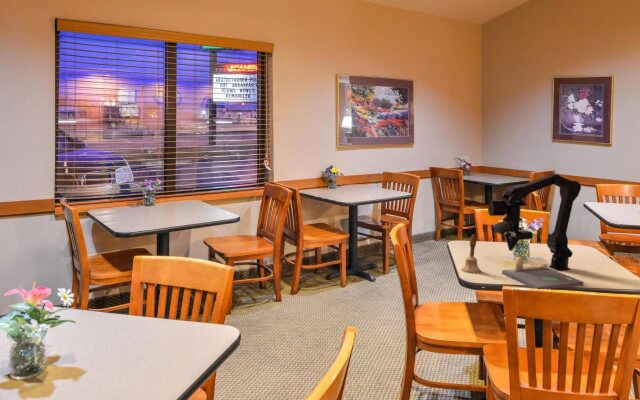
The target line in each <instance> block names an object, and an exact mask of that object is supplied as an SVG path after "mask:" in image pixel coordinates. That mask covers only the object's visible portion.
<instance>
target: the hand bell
mask: <svg viewBox="0 0 640 400" xmlns="http://www.w3.org/2000/svg"><path fill="white" fill-rule="evenodd" d="M476 245H477V238H476V234H471V237H470V240H469V246H470V252H469V256H467V257H466V258H465V263H464V265H463V266H461V268H460V270H461V271H462V272H465V273H470V274H479V273H481V271H482V270H481V269H480V267H479V266H478V259H477V258H476V257H475V247H476Z"/></svg>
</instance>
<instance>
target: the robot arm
mask: <svg viewBox="0 0 640 400" xmlns="http://www.w3.org/2000/svg"><path fill="white" fill-rule="evenodd" d="M552 185H555V186H557V187H558V188H559V197H560V204H559V207H558V212H557V216H556V217H557V218H556V221H555V226H554V230H553V231H552V233H548V234H547V239H546V241H545V243H546V246H547V247H548V249H549V251H550V253H551V254H552V255H551V259H550V260H551V261H550V265H548V268H550V269H552V270H555V271H558V272H560V271H569V270H571V268H570V267H569V259H570V258H571V257H572V256H573V251H572V250H571V249H570V248H569V247H568V246H569V245H568V244H569V239H568V235H567V231H568V226H569V223H570V220H571V219H570V218H571V213H572V209H573V204H574V201H575V200H576V199H577V198H578V197H579V194H580V191H581V189H582V185H581V183H580V182H579V181H576V180H573V179H568V178H565V177H563V176H561V175H559V174H556V173H549V174H548V175H545V176H542V177H540V178H537V179H535V180H532V181H530V182H526V183H523V184H515V185H509V186H508V187H506V190H505V192H504V194H503V195H502V196H501V198H500V199H497V200H496V199H491V200H490V202H489V204H488V207H487V211H488V214H489V216H491V217H495V216H496V217H498V216H499V217H503V218H502V221H500V222H498V223H496V224H493V226H492V231H493V232H494V233H495V234H497V233H498V234H499V235H501V236H502V237H504V238H505V241H506V245H507V247H508V251H510V252H512V251H513V250H514V248H515V247H516V246H517V243H518V242H520V240H529V239H530V240H531V239H533V235H534V234H533V232H532V231H529V230H525V229H524V230H522V227H521V225H520V224H521V221H523V218H522V217H521V208H522V206H526V205H527V204H526V203H525V202H524V201H523V200H524V199H525V198H527V197H528V196H529V195H530V194H532V193H534V192H536V191H540V190H543V189H545V188H548V187H550V186H552Z"/></svg>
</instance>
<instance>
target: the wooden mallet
mask: <svg viewBox="0 0 640 400" xmlns="http://www.w3.org/2000/svg"><path fill="white" fill-rule="evenodd" d="M524 260H525V259H524V257H523V256H516V257H515V267H513V269H514V270H527V269H538V268H541V269H547V268H548V265H547V264H546V263H538V264H537V265H529V266H524Z"/></svg>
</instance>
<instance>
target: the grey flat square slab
mask: <svg viewBox="0 0 640 400" xmlns="http://www.w3.org/2000/svg"><path fill="white" fill-rule="evenodd" d="M501 274H502V275H503V276H506V277H507V278H509V279H512V280H514V281H516V282H519V283H520V284H523V285H525V286H527V287H528V288H531V289H533V288H537V289H547V290H553V289H565V288H572V287H573V288H574V287H583V286H584V284H585V283H584V282H585V281H582V280H580V279H578V278H575V277H573V276H569V275H567V274H564V273H562V272H560V271H558V270H556V269H553V268H551V267H547V269H541V268H538V269H527V270H514V268H513V269H504V270H501Z"/></svg>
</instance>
